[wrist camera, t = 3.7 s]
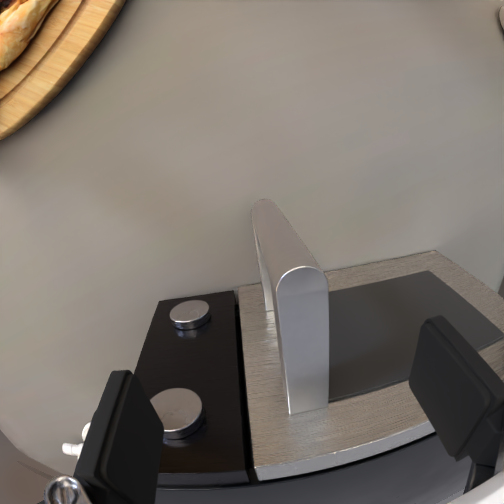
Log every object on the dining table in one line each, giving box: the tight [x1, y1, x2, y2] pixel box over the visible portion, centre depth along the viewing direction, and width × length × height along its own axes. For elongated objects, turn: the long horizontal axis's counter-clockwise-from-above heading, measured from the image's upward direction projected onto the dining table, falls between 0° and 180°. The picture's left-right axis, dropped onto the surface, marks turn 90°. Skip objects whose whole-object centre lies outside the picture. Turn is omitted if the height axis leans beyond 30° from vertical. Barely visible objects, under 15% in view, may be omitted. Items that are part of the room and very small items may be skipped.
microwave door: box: [238, 199, 504, 481], centre depth 18 cm, size 10×21×18 cm, turn 98°
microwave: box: [134, 290, 472, 504], centre depth 23 cm, size 22×28×18 cm
